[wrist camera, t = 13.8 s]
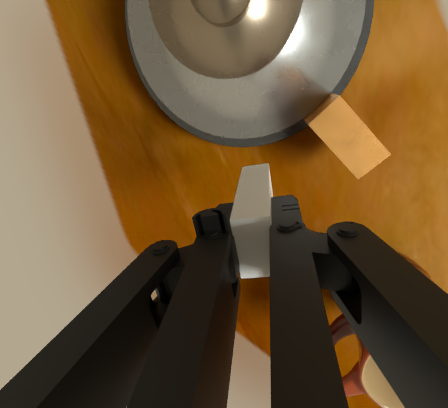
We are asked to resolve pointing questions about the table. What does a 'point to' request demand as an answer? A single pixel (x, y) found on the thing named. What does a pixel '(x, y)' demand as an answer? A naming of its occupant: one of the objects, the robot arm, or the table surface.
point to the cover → (225, 33)
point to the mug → (367, 365)
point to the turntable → (270, 83)
